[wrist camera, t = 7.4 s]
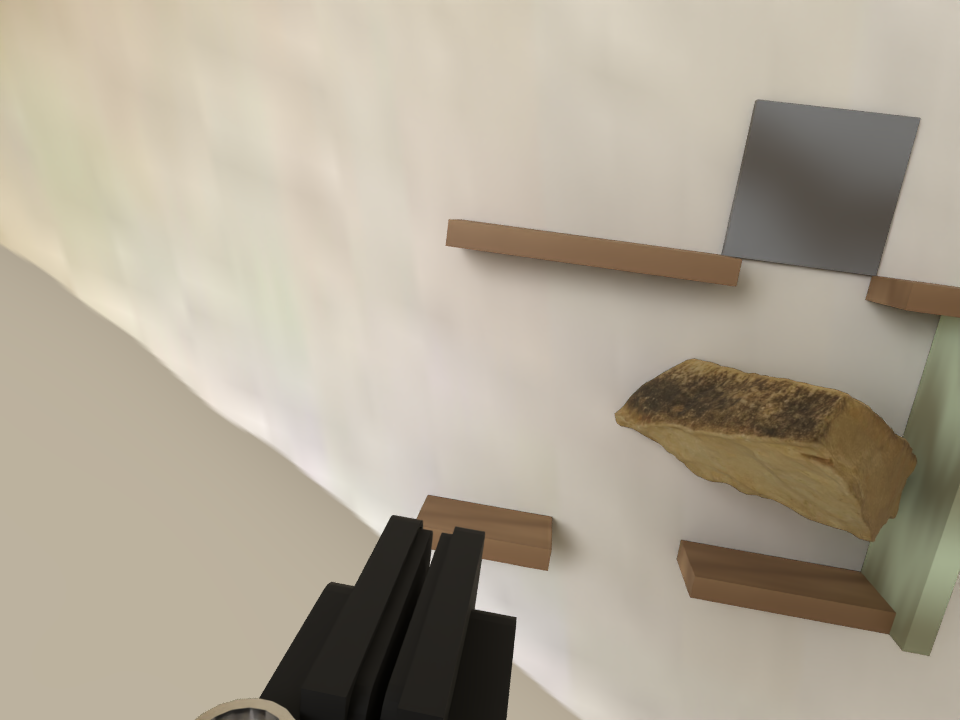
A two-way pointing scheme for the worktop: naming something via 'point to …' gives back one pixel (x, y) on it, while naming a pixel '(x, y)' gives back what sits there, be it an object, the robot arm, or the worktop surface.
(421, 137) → the worktop surface
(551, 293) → the worktop surface
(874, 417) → the rock
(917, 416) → the box
